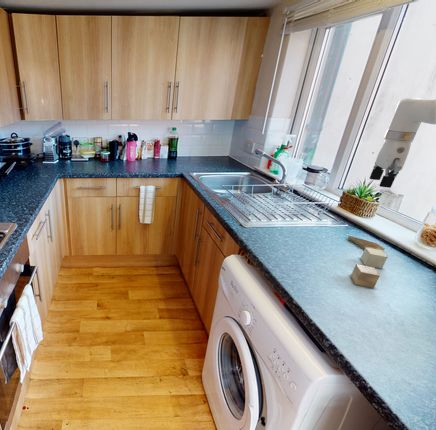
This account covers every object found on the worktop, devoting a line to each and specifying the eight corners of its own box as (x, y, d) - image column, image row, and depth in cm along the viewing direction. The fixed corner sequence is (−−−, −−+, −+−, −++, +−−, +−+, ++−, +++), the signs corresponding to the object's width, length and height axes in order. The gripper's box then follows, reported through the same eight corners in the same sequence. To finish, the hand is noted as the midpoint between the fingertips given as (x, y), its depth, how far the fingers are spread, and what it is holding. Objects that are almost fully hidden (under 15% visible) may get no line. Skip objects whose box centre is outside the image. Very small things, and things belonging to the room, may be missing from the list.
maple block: (368, 279, 97) (374, 267, 95) (373, 288, 93) (380, 275, 91) (350, 275, 99) (355, 263, 97) (355, 284, 94) (360, 271, 92)
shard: (346, 238, 123) (348, 234, 122) (363, 238, 123) (365, 235, 123) (367, 252, 113) (369, 248, 113) (386, 252, 114) (388, 248, 113)
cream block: (376, 261, 107) (382, 250, 105) (381, 268, 103) (387, 257, 101) (360, 258, 109) (365, 247, 107) (364, 265, 105) (370, 253, 103)
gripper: (426, 141, 91) (402, 191, 98) (401, 133, 106) (382, 178, 113) (396, 139, 94) (375, 188, 101) (376, 132, 108) (359, 175, 115)
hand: (379, 183), depth 107 cm, fingers open, 9 cm apart
